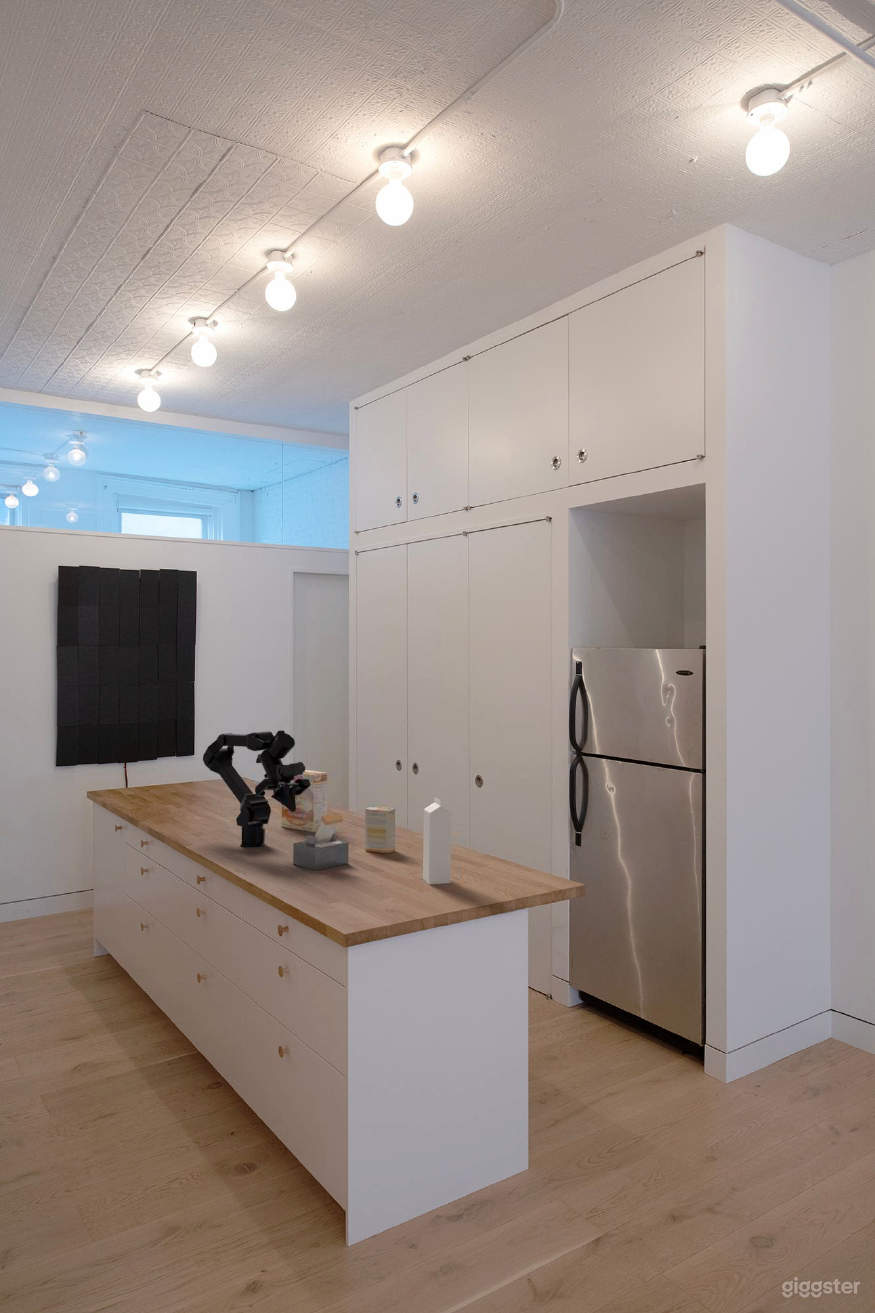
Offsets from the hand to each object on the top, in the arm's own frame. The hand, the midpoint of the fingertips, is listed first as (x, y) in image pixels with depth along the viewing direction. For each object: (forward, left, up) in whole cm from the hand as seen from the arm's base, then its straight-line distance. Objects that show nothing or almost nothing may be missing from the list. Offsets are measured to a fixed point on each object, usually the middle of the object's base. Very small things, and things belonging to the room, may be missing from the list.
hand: (294, 811), depth 262 cm
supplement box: (+25, +6, -13) cm, 29 cm away
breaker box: (+9, -10, -13) cm, 19 cm away
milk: (+41, -29, -13) cm, 52 cm away
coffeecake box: (-2, +40, -13) cm, 42 cm away
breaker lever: (+9, -10, -6) cm, 15 cm away
